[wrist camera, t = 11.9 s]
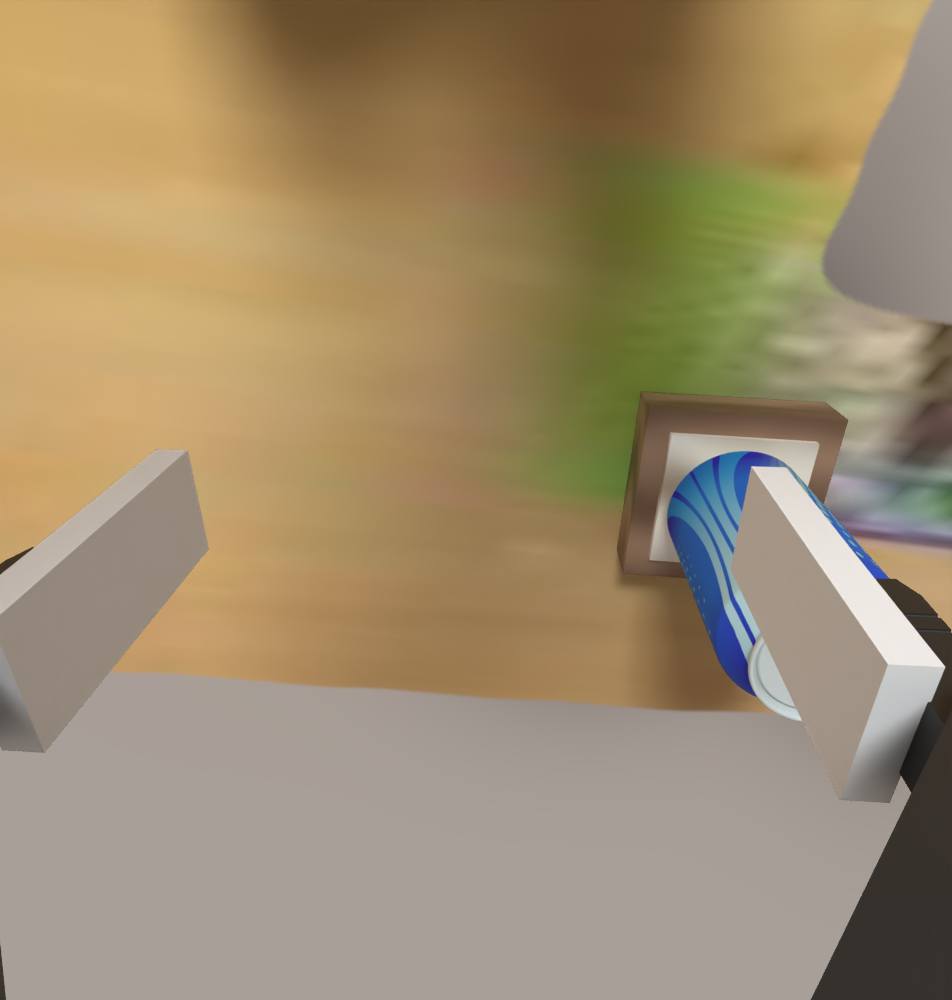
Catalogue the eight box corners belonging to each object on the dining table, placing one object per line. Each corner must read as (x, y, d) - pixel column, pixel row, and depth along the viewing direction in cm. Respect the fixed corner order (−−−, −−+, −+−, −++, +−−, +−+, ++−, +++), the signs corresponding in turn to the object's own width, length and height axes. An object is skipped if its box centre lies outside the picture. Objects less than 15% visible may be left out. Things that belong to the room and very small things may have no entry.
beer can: (826, 500, 43) (974, 663, 29) (722, 582, 46) (810, 766, 32) (737, 416, 41) (849, 546, 27) (636, 507, 44) (687, 668, 30)
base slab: (641, 391, 45) (650, 410, 41) (825, 402, 44) (851, 422, 41) (617, 548, 50) (624, 577, 47) (782, 560, 50) (801, 590, 46)
